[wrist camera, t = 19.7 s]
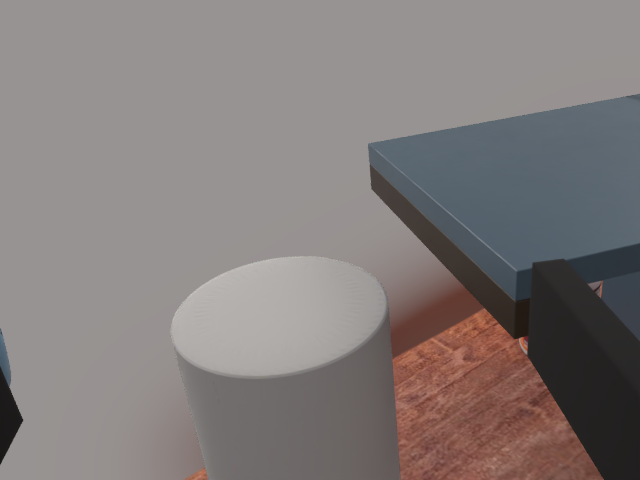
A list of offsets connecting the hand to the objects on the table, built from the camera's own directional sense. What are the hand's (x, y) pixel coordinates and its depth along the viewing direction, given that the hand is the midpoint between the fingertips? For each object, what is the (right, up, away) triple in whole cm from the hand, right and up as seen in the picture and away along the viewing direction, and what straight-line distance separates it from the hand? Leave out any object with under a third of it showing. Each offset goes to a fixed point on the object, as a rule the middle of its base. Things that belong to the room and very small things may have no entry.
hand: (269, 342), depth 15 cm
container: (+2, -18, +22) cm, 29 cm away
